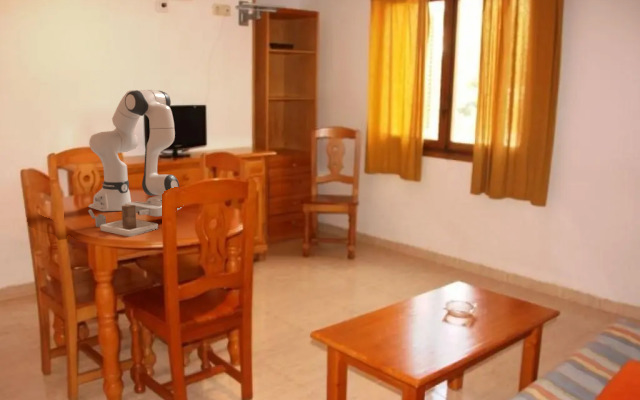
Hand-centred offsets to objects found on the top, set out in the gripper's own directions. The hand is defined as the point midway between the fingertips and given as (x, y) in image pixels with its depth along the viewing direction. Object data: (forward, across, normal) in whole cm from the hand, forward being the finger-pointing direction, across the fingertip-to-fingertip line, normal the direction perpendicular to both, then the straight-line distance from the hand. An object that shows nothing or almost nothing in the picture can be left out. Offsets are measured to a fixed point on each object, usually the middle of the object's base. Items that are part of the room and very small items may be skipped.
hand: (131, 211), depth 261 cm
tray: (+1, 0, +8) cm, 8 cm away
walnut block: (+1, 0, +7) cm, 7 cm away
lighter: (+6, -16, +8) cm, 19 cm away
